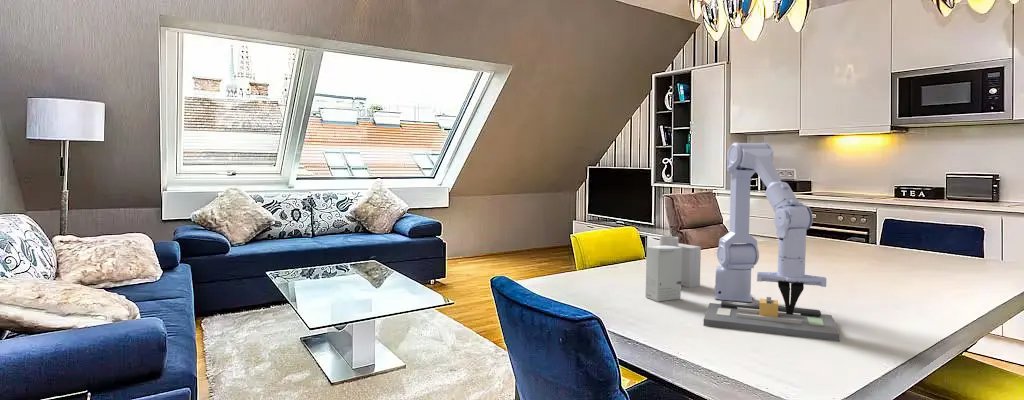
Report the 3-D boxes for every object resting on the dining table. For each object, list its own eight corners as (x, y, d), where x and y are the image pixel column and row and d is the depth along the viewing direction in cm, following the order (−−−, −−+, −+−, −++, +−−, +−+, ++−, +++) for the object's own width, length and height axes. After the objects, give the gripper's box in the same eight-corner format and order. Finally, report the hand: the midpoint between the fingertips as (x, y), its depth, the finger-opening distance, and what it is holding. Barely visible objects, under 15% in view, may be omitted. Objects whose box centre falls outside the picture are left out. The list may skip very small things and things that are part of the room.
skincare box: (657, 302, 153) (658, 248, 152) (644, 297, 159) (645, 245, 157) (681, 299, 156) (683, 246, 155) (668, 294, 162) (669, 243, 161)
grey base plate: (703, 325, 132) (703, 314, 132) (709, 308, 147) (709, 298, 146) (839, 341, 121) (839, 328, 120) (831, 321, 135) (831, 310, 135)
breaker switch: (759, 317, 132) (759, 300, 132) (759, 312, 136) (759, 296, 136) (777, 319, 131) (778, 301, 131) (777, 314, 134) (777, 297, 134)
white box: (700, 285, 173) (701, 237, 172) (668, 291, 165) (669, 241, 164) (669, 278, 183) (670, 233, 182) (638, 283, 176) (639, 236, 174)
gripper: (757, 257, 130) (755, 314, 131) (828, 262, 124) (826, 321, 125) (757, 252, 136) (756, 306, 137) (825, 256, 130) (823, 313, 131)
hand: (789, 313), depth 132 cm, fingers closed
